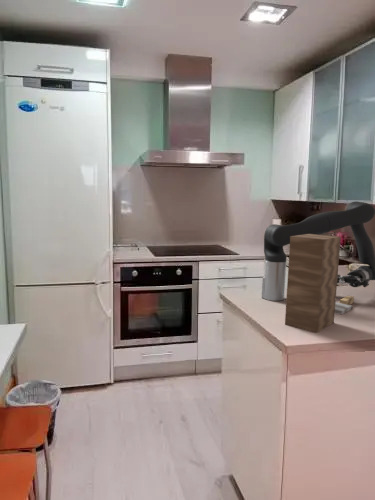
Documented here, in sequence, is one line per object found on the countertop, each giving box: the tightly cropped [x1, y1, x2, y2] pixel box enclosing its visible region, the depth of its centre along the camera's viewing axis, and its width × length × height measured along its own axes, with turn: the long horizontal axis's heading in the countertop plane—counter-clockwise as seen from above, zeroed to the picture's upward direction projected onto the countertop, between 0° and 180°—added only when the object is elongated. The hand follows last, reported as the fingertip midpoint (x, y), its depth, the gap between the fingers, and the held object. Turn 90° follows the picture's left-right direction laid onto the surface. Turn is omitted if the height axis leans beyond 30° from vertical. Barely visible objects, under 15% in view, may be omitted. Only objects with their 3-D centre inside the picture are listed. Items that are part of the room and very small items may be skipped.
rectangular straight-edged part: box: [335, 295, 355, 315], centre depth 168 cm, size 22×8×3 cm, turn 139°
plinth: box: [284, 234, 342, 333], centre depth 142 cm, size 15×12×32 cm
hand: (344, 283), depth 168 cm, fingers open, 8 cm apart
